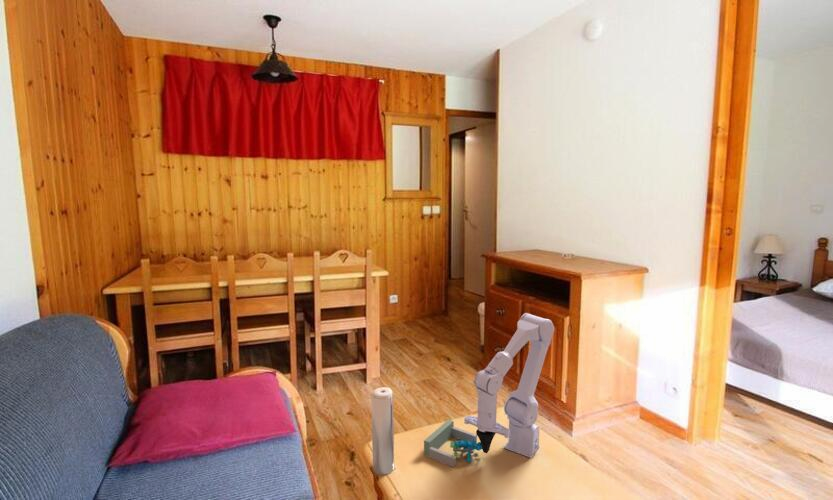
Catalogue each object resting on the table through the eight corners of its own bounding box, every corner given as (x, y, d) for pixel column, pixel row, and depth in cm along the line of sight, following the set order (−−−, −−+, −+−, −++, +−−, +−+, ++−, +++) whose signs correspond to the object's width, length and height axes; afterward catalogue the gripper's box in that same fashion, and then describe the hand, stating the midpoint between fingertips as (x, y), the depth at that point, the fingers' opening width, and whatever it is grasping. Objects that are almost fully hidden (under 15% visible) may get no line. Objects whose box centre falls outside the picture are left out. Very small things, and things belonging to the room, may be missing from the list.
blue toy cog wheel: (488, 446, 137) (482, 438, 129) (487, 466, 133) (481, 459, 126) (454, 445, 140) (447, 437, 133) (453, 464, 137) (446, 457, 129)
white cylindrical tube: (384, 458, 134) (383, 384, 130) (398, 468, 129) (397, 391, 126) (368, 468, 129) (366, 391, 126) (382, 478, 124) (380, 398, 121)
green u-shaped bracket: (476, 443, 142) (477, 429, 141) (453, 467, 129) (453, 452, 128) (448, 432, 148) (448, 419, 147) (424, 455, 135) (424, 440, 135)
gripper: (459, 408, 130) (459, 449, 132) (504, 423, 122) (502, 466, 123) (470, 399, 136) (469, 438, 137) (513, 412, 127) (512, 454, 129)
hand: (486, 451), depth 131 cm, fingers closed
